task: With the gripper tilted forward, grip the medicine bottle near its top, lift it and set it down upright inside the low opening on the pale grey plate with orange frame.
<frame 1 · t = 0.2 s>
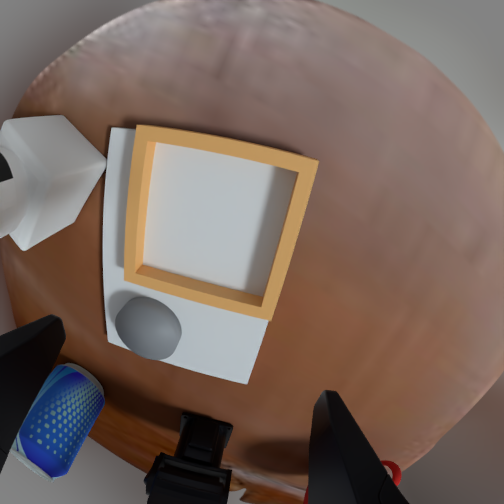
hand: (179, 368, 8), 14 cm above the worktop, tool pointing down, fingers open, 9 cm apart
medicine bottle: (68, 168, 21), on the worktop
beer can: (83, 380, 33), on the worktop
plate with orange frame: (185, 271, 24), on the worktop
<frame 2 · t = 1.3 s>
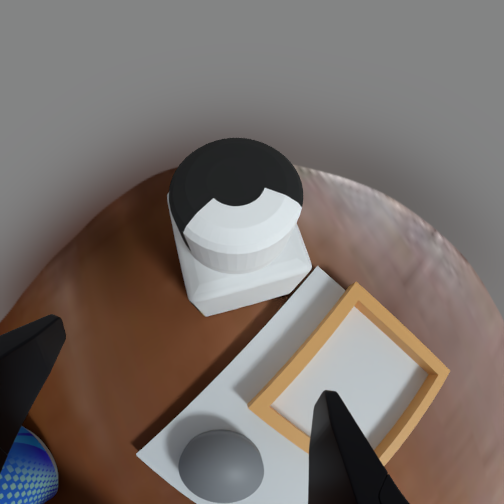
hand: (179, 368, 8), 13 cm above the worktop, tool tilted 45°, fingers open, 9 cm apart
medicine bottle: (235, 263, 24), on the worktop
beer can: (32, 458, 16), on the worktop
plate with orange frame: (299, 427, 19), on the worktop
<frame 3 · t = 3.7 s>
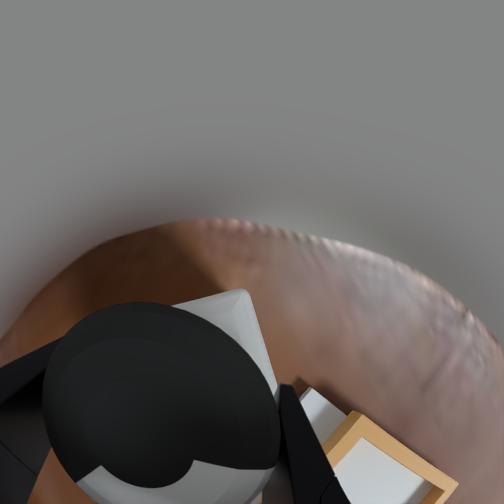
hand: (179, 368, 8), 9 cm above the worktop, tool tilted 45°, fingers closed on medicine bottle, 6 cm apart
medicine bottle: (202, 381, 16), on the worktop, touching gripper
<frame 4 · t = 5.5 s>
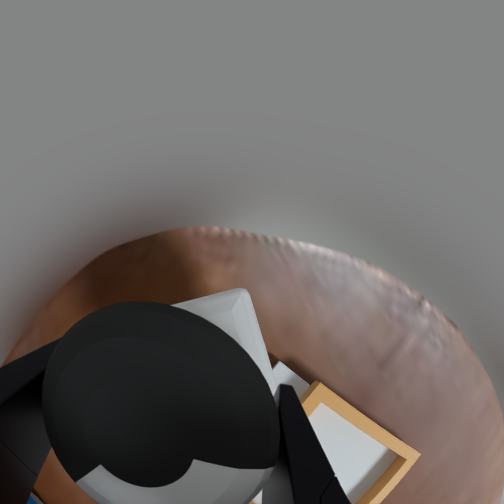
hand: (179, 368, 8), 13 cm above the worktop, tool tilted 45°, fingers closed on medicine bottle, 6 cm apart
medicine bottle: (202, 380, 16), point 4 cm above the worktop, touching gripper
plate with orange frame: (262, 503, 17), on the worktop
when the fingers open (11 cm above the worktop, at t = 7.6 s): medicine bottle stays where it is, resting on plate with orange frame.
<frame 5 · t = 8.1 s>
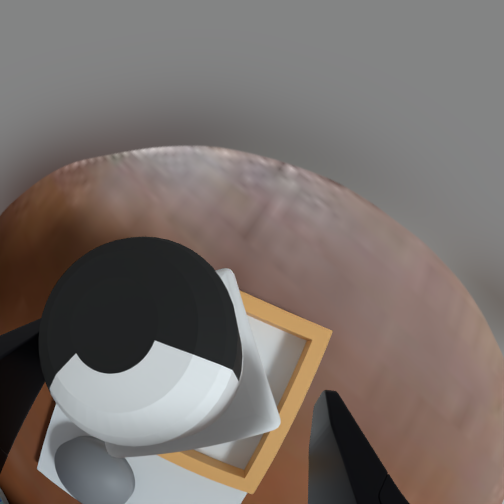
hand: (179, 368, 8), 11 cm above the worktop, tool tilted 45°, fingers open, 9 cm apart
medicine bottle: (200, 384, 17), point 1 cm above the worktop, touching plate with orange frame
plate with orange frame: (157, 427, 17), on the worktop
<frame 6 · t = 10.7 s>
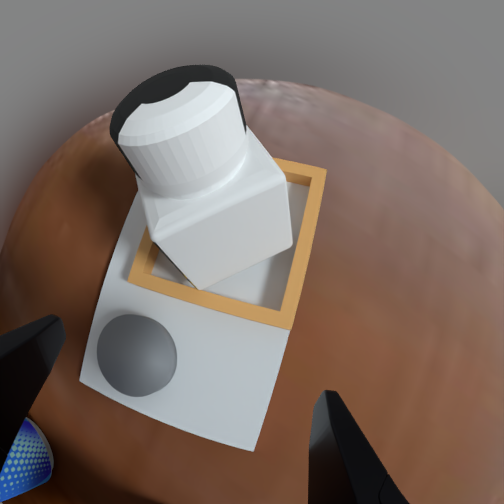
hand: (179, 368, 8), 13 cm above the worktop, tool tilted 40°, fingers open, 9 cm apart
medicine bottle: (227, 231, 21), point 1 cm above the worktop, touching plate with orange frame
beer can: (32, 445, 19), on the worktop
plate with orange frame: (194, 290, 22), on the worktop
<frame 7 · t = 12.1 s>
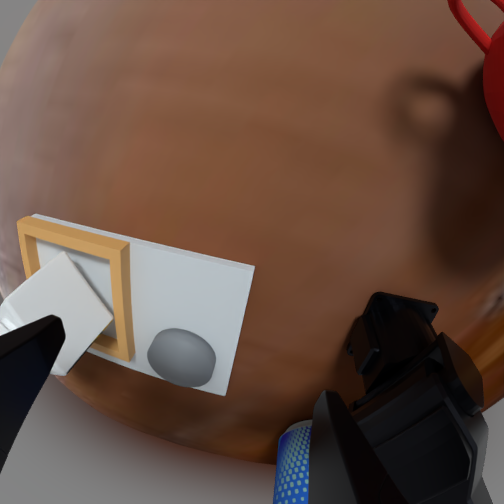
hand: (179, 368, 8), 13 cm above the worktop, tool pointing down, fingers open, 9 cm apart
medicine bottle: (76, 291, 23), point 1 cm above the worktop, touching plate with orange frame
ceramic cup: (493, 82, 13), on the worktop
beer can: (313, 431, 30), on the worktop
plate with orange frame: (126, 310, 25), on the worktop
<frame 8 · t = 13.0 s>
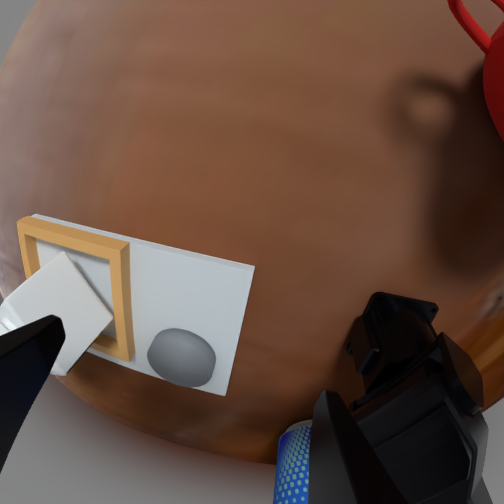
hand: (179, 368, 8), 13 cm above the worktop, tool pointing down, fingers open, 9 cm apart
medicine bottle: (76, 291, 23), point 1 cm above the worktop, touching plate with orange frame
ceramic cup: (493, 82, 13), on the worktop
beer can: (313, 431, 30), on the worktop
plate with orange frame: (126, 310, 25), on the worktop
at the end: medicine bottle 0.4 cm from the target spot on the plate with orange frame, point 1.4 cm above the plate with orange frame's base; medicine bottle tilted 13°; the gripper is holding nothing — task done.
